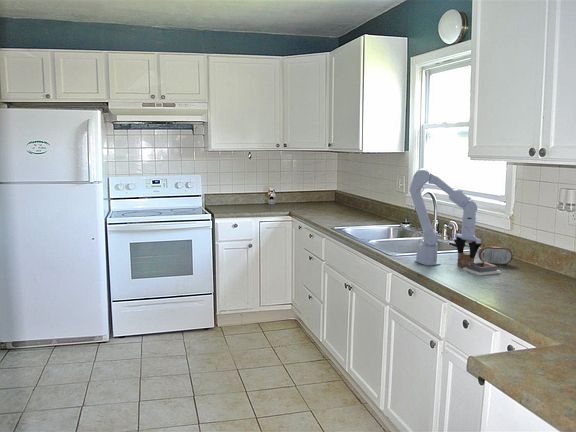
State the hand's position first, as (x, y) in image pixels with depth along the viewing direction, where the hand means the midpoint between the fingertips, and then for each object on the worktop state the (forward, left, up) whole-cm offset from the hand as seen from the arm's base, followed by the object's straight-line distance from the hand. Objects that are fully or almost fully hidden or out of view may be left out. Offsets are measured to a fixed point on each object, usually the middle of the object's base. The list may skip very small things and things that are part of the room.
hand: (466, 256), depth 246 cm
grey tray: (+10, 0, -5) cm, 11 cm away
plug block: (0, 0, -5) cm, 5 cm away
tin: (+1, +17, -5) cm, 18 cm away
